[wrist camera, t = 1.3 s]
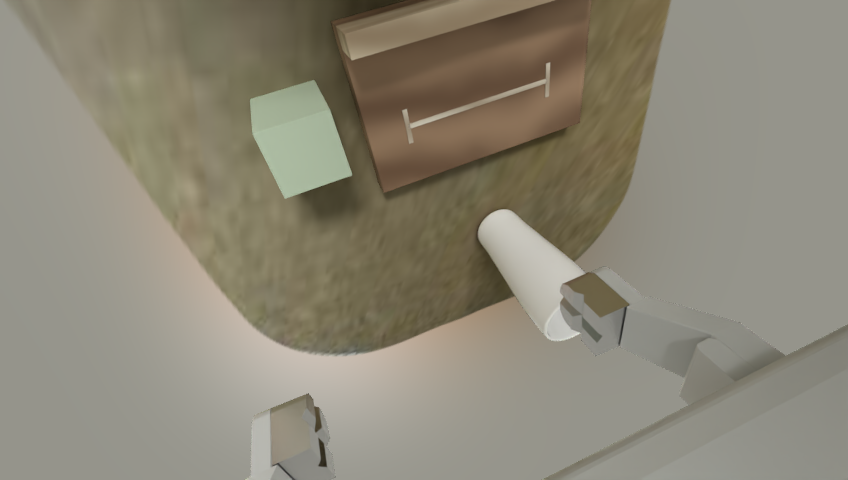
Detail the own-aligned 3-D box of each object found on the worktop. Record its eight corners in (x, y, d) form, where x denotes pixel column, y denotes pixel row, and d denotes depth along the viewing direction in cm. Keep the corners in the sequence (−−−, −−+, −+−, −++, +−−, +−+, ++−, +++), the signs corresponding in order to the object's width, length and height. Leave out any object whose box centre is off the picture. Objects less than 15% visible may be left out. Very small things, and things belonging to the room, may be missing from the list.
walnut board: (330, 21, 28) (344, 34, 25) (579, -48, 32) (624, -46, 28) (378, 182, 37) (393, 209, 34) (567, 115, 41) (600, 133, 37)
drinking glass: (469, 211, 44) (548, 304, 32) (522, 194, 45) (615, 278, 34) (470, 255, 48) (540, 351, 37) (519, 239, 49) (600, 327, 38)
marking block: (250, 99, 29) (252, 133, 24) (314, 79, 30) (329, 109, 25) (284, 171, 34) (292, 214, 28) (339, 152, 34) (357, 191, 29)
